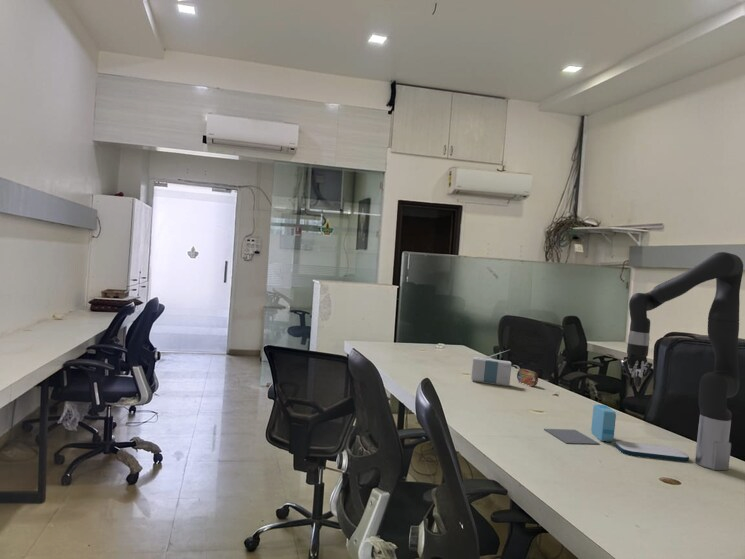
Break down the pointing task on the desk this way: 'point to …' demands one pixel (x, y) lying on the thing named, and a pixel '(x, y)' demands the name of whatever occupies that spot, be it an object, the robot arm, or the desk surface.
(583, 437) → the mat
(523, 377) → the tin
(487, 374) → the stereo radio cassette player
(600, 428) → the data package
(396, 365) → the desk surface
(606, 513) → the desk surface
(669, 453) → the white blue flat slab
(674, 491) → the desk surface
